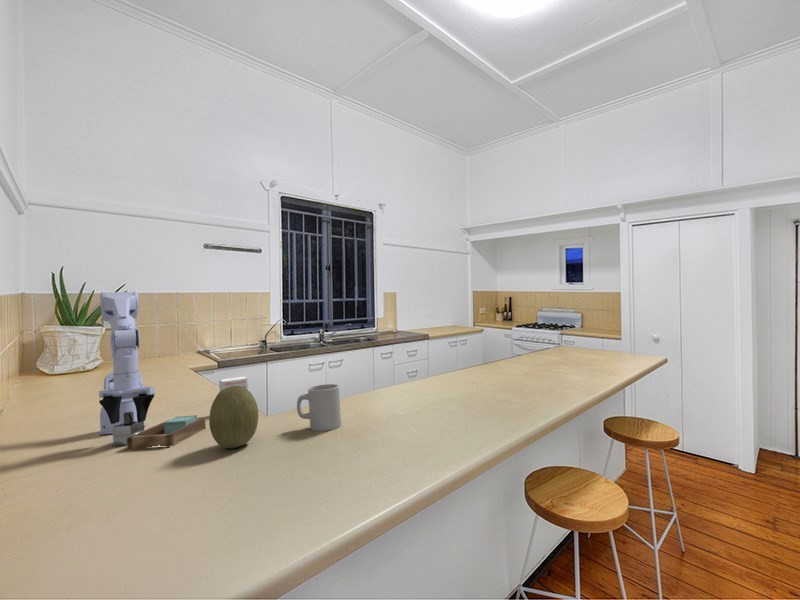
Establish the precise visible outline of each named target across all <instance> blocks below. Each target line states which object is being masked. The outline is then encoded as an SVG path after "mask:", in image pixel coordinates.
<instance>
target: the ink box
mask: <svg viewBox="0 0 800 600" xmlns="http://www.w3.org/2000/svg"><path fill="white" fill-rule="evenodd" d="M218 382H219V383H218V384H219V392H220V391H221V390H223V389H225V388H227V387H231V386H241V387H244V388H246V389H247V390H248V391H249V387H248V386H249V384H248V377H246V376H245V375H244V376H236V377H229V378H222V379H220V380H219V381H218Z"/></svg>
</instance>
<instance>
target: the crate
mask: <svg viewBox="0 0 800 600" xmlns="http://www.w3.org/2000/svg"><path fill="white" fill-rule="evenodd" d="M197 418H198V416H197V415H185V416H181V415H180V416H175V417H174V418H171V419H168V420H169V421H168V420H166V421H167V422H165V421H163V422H164V423H163V422H162V423H163V426H164V434H170V433H172V432H174V431H176V430H178V429H180V428H182V427H184V426H186V425H188V424H190V423H192V422H194V421H196V420H197Z"/></svg>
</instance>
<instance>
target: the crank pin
mask: <svg viewBox="0 0 800 600" xmlns="http://www.w3.org/2000/svg"><path fill="white" fill-rule="evenodd" d="M131 424H134V415H133V412H126V413H124V426H125V425H131Z"/></svg>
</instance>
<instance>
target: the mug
mask: <svg viewBox="0 0 800 600" xmlns="http://www.w3.org/2000/svg"><path fill="white" fill-rule="evenodd" d="M307 391H308V393H303V394H300V395H299V397H298V398H297V401H296V409H297V414H298V416H299V418H301V419H303V420H309V427H310V430H311V431H314V432H328V431H333V430H336V429H339V428H340V427H341V426H342V413H341V400H340V399H341V398H340V386H339V385H338V384H334V383H332V384H328V383H327V384H318V385H314V386H310V387H309V388H308V390H307ZM303 400H307V401H308V407H309V409H308V410H309V411H308V412H303V411H302V407H301V404H302V401H303Z"/></svg>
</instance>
